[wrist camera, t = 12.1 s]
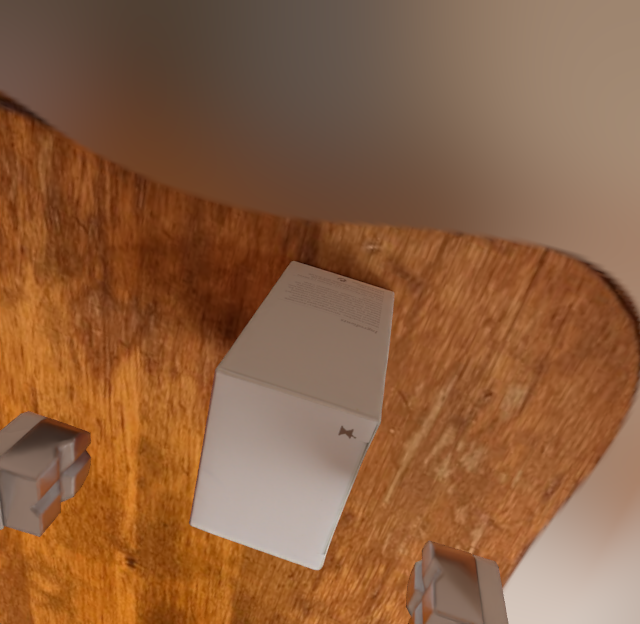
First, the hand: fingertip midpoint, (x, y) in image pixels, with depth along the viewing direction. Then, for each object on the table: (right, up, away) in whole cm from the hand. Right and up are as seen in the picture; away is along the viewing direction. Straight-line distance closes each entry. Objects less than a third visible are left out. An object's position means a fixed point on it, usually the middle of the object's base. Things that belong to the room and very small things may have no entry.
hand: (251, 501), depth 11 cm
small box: (+2, +3, +9) cm, 9 cm away
